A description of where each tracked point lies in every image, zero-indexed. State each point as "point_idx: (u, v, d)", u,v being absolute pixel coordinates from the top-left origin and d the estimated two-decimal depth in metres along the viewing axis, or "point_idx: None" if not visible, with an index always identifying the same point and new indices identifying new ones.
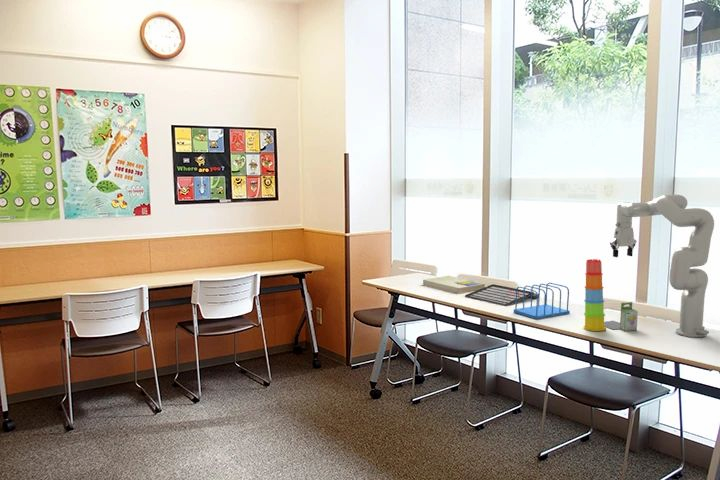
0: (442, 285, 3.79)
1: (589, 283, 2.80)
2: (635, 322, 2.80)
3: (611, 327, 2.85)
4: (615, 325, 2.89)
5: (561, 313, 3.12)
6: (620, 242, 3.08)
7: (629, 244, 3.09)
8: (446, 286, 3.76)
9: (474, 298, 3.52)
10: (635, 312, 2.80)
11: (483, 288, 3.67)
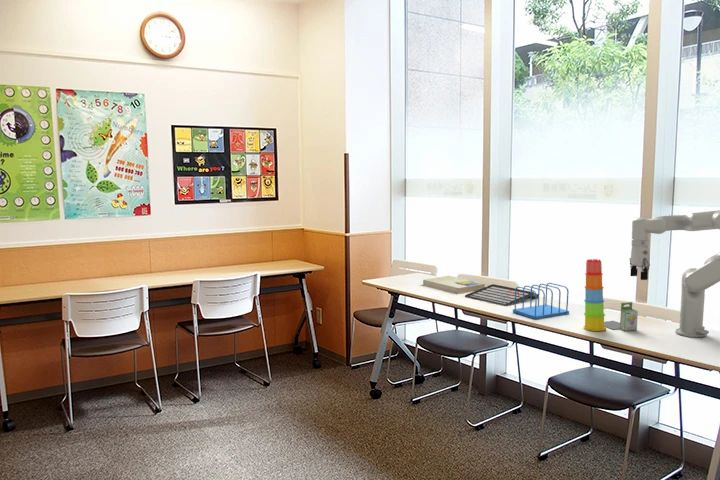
0: (442, 285, 3.79)
1: (589, 283, 2.80)
2: (635, 322, 2.80)
3: (611, 327, 2.85)
4: (615, 325, 2.89)
5: (560, 313, 3.11)
6: None
7: None
8: (446, 286, 3.76)
9: (474, 298, 3.52)
10: (635, 312, 2.80)
11: (483, 288, 3.67)
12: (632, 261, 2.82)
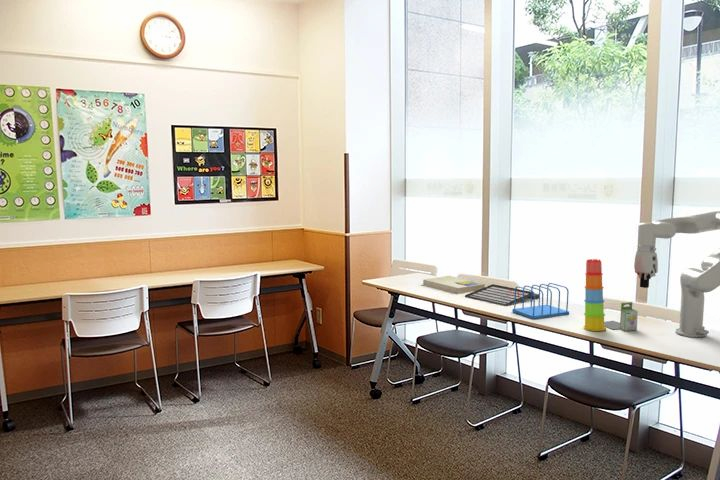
0: (442, 285, 3.79)
1: (589, 283, 2.80)
2: (635, 322, 2.80)
3: (611, 327, 2.85)
4: (615, 325, 2.89)
5: (560, 313, 3.11)
6: None
7: None
8: (446, 286, 3.76)
9: (474, 298, 3.52)
10: (635, 312, 2.80)
11: (483, 288, 3.67)
12: (637, 267, 2.72)
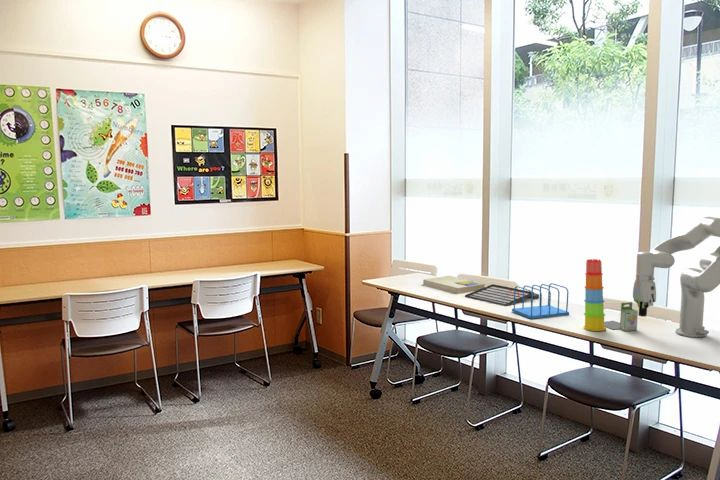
0: (442, 285, 3.80)
1: (589, 283, 2.80)
2: (635, 322, 2.80)
3: (611, 327, 2.85)
4: (615, 325, 2.89)
5: (559, 314, 3.10)
6: None
7: None
8: (445, 286, 3.76)
9: (474, 298, 3.52)
10: (635, 312, 2.80)
11: (483, 288, 3.67)
12: (635, 296, 2.73)
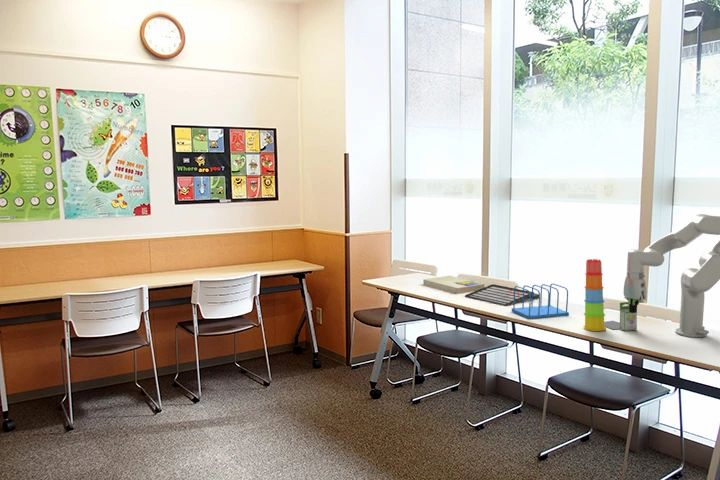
0: (441, 285, 3.80)
1: (589, 283, 2.80)
2: (635, 321, 2.80)
3: (611, 327, 2.85)
4: (615, 325, 2.89)
5: (558, 314, 3.09)
6: None
7: None
8: (445, 286, 3.76)
9: (474, 298, 3.52)
10: None
11: (483, 288, 3.67)
12: (626, 293, 2.79)
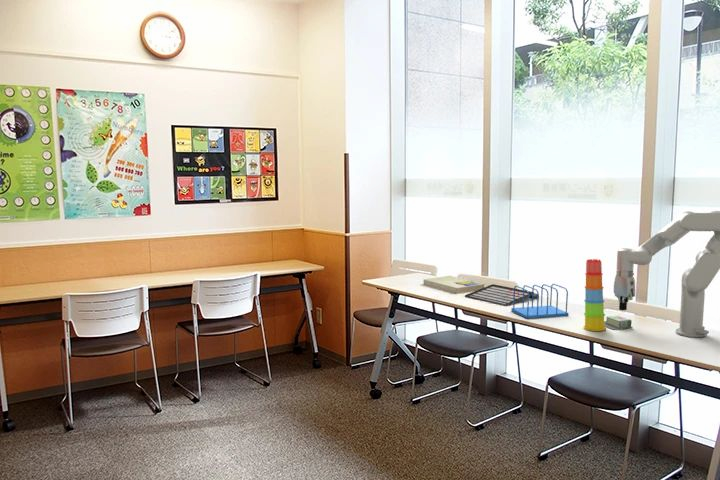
0: (441, 285, 3.80)
1: (589, 283, 2.80)
2: (623, 318, 2.88)
3: (611, 327, 2.85)
4: None
5: (558, 314, 3.08)
6: None
7: None
8: (445, 286, 3.76)
9: (474, 298, 3.52)
10: None
11: (483, 288, 3.67)
12: (616, 291, 2.85)
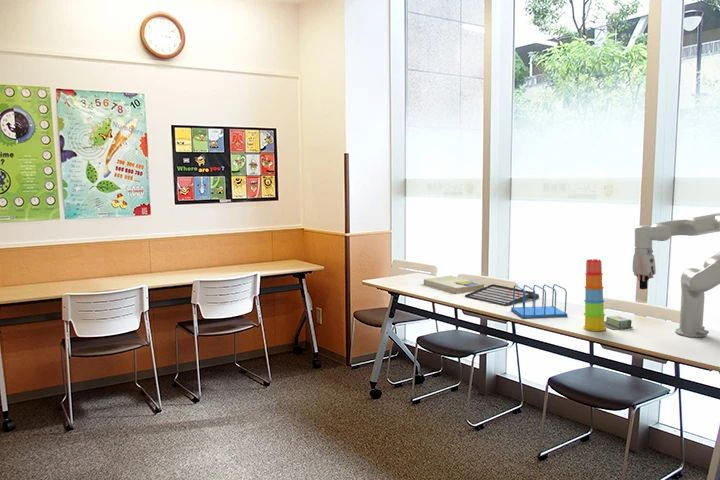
0: (441, 285, 3.80)
1: (589, 283, 2.80)
2: (623, 318, 2.88)
3: (611, 327, 2.85)
4: None
5: (556, 315, 3.07)
6: None
7: None
8: (445, 286, 3.77)
9: (474, 298, 3.52)
10: None
11: (483, 288, 3.67)
12: (635, 270, 2.77)
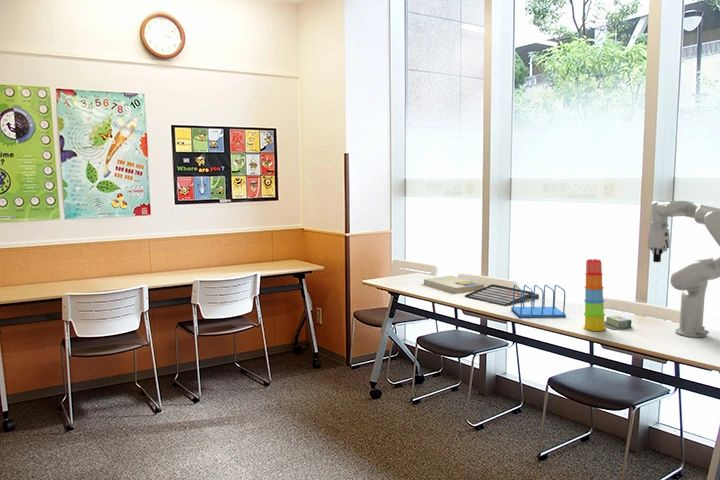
0: (441, 285, 3.80)
1: (589, 283, 2.80)
2: (623, 318, 2.88)
3: (611, 327, 2.85)
4: None
5: (554, 315, 3.07)
6: None
7: None
8: (444, 286, 3.77)
9: (474, 298, 3.52)
10: None
11: (483, 288, 3.67)
12: (650, 243, 2.89)
